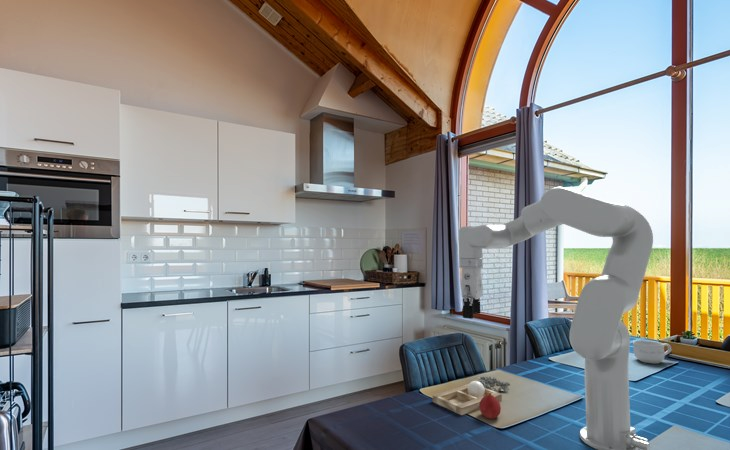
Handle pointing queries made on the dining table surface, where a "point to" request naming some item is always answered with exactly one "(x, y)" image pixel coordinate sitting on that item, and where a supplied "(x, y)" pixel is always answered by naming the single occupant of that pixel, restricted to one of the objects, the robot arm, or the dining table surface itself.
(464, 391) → the holder board
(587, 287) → the robot arm
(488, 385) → the grey green leafy sprig
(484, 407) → the onion
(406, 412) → the dining table surface
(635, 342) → the teacup
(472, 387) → the ceramic egg
